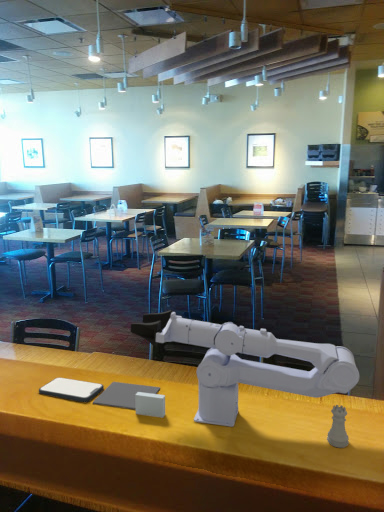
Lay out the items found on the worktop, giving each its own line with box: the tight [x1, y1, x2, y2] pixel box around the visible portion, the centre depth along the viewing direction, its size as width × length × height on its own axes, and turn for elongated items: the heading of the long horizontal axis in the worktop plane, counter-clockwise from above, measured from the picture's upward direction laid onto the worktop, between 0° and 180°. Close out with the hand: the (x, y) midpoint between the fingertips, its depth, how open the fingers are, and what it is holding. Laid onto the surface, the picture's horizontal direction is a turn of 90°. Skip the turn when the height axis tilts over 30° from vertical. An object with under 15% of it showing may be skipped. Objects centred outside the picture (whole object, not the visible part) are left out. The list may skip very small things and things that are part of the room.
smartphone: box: [38, 377, 105, 403], centre depth 112 cm, size 9×2×16 cm
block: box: [135, 392, 166, 418], centre depth 100 cm, size 7×2×5 cm, turn 75°
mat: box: [92, 381, 161, 411], centre depth 109 cm, size 14×12×1 cm
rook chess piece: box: [326, 404, 350, 449], centre depth 88 cm, size 4×4×8 cm
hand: (137, 322), depth 101 cm, fingers open, 7 cm apart
